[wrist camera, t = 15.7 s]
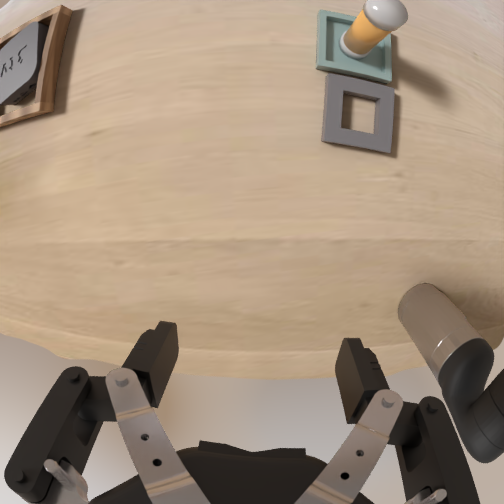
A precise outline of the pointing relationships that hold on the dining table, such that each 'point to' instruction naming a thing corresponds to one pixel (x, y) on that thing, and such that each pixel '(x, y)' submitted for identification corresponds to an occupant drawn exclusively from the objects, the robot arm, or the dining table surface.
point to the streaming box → (21, 63)
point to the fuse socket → (333, 113)
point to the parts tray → (334, 60)
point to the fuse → (372, 27)
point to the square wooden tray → (43, 63)
